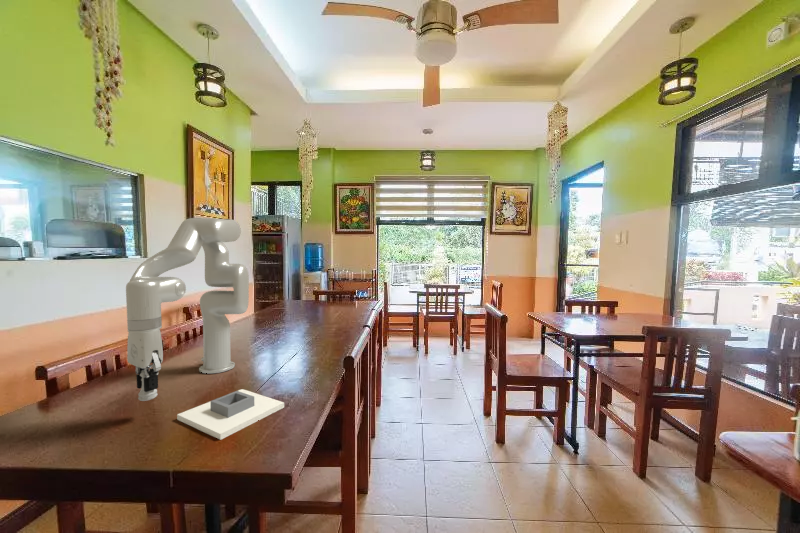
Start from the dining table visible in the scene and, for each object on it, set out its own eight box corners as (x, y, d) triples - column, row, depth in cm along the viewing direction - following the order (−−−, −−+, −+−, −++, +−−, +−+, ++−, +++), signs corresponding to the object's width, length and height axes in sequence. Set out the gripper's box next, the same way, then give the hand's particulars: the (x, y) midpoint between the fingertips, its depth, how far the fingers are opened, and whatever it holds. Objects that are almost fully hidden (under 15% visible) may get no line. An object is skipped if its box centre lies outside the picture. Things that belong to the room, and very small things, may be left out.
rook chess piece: (161, 395, 93) (160, 368, 93) (145, 402, 89) (143, 374, 89) (150, 393, 95) (149, 366, 94) (134, 400, 91) (132, 372, 90)
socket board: (177, 419, 91) (177, 404, 91) (242, 393, 109) (242, 380, 108) (220, 439, 81) (220, 423, 81) (284, 407, 99) (284, 393, 99)
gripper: (114, 323, 92) (117, 387, 93) (143, 331, 84) (146, 400, 85) (146, 318, 98) (148, 377, 99) (175, 325, 90) (177, 389, 91)
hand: (147, 387), depth 92 cm, fingers closed on rook chess piece, 3 cm apart
